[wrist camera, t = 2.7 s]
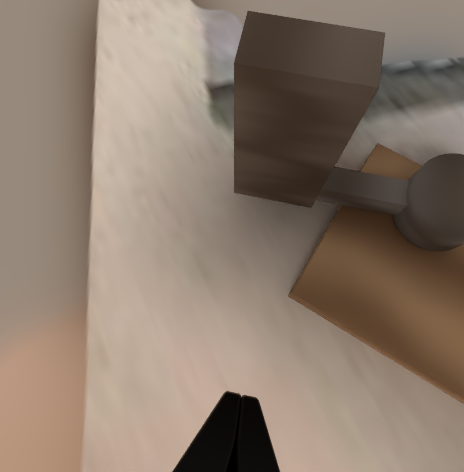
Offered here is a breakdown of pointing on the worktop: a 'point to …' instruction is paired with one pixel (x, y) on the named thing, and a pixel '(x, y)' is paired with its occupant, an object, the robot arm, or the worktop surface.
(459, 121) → the worktop surface
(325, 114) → the upright block on board
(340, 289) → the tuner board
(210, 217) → the worktop surface
